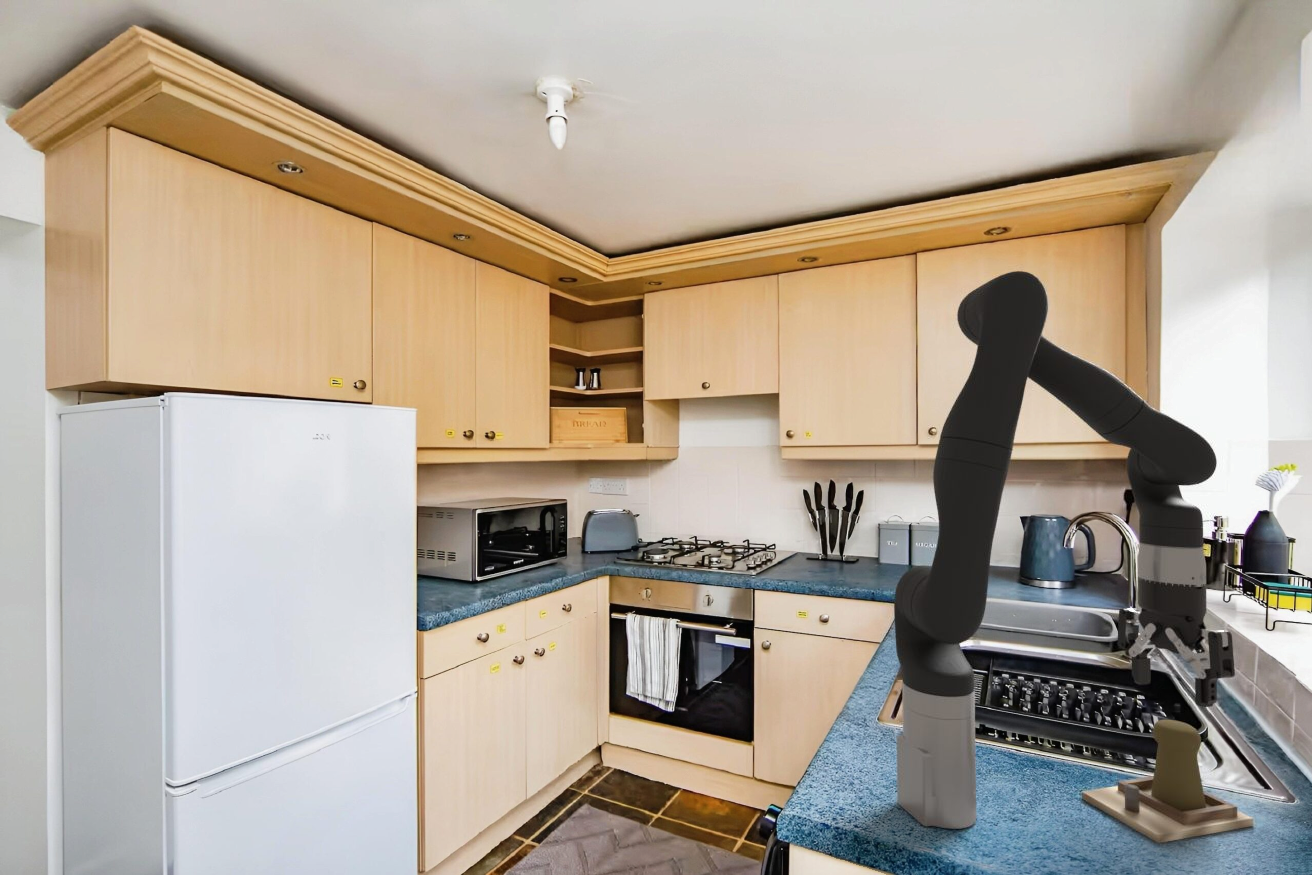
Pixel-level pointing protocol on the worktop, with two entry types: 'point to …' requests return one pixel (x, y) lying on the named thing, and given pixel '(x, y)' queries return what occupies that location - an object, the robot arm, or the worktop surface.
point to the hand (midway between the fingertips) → (1172, 694)
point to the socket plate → (1164, 812)
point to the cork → (1177, 766)
